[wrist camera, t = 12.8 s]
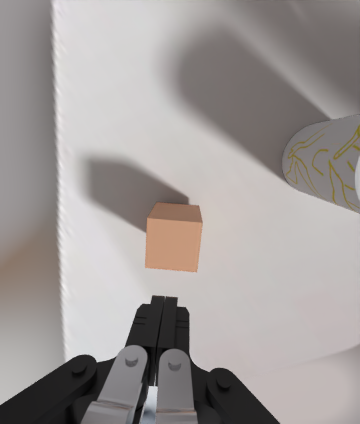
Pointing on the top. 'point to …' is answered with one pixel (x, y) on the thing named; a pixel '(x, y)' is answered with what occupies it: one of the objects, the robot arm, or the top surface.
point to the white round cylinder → (326, 161)
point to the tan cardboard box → (173, 237)
